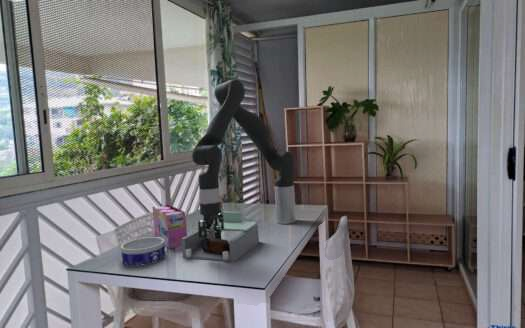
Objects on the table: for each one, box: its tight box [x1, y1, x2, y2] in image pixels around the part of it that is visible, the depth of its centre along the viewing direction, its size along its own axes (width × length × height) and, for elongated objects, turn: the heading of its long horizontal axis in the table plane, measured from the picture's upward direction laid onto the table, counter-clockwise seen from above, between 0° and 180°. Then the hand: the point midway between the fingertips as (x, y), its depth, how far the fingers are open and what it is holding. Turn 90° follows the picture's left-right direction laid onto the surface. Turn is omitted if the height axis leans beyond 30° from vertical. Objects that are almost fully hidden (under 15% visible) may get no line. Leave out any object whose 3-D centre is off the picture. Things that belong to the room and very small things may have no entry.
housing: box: [181, 223, 260, 262], centre depth 140 cm, size 24×21×7 cm
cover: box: [196, 211, 258, 232], centre depth 145 cm, size 10×21×5 cm, turn 68°
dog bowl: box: [120, 236, 166, 266], centre depth 137 cm, size 15×15×6 cm
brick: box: [202, 237, 230, 255], centre depth 135 cm, size 11×4×5 cm, turn 56°
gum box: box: [152, 203, 188, 249], centre depth 158 cm, size 24×8×14 cm, turn 31°
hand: (212, 245), depth 134 cm, fingers open, 8 cm apart
